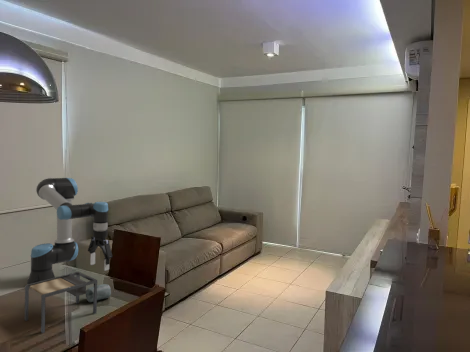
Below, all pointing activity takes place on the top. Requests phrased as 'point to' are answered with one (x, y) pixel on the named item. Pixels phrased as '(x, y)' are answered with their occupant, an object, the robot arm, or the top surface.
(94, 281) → the stand
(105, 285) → the grey streaked egg shape
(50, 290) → the trapdoor
